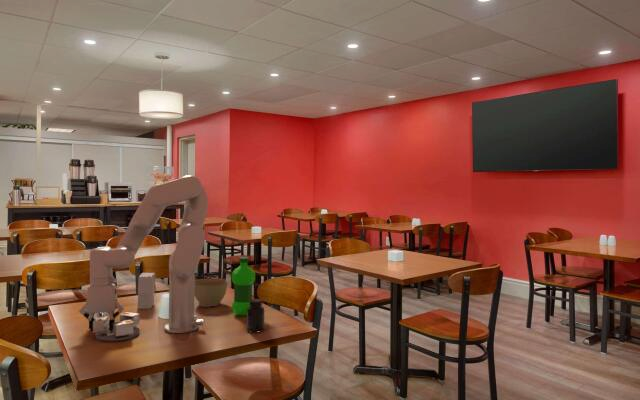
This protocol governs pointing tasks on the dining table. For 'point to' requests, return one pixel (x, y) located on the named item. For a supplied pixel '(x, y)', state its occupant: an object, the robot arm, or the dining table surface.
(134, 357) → the dining table surface
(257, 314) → the supplement bottle
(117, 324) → the knob
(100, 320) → the white block
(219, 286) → the planter bowl
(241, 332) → the dining table surface
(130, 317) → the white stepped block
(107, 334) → the tribrach plate
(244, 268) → the plastic bottle
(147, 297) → the skincare box
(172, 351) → the dining table surface
